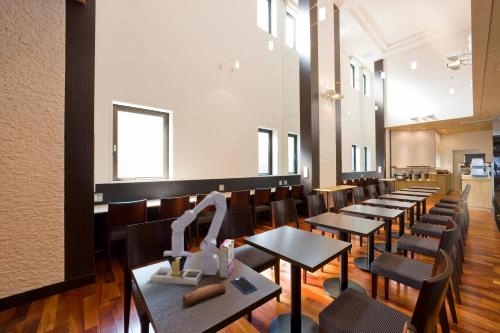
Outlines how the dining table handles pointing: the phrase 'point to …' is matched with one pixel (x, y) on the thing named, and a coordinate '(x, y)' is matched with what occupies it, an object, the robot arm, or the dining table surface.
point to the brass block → (176, 268)
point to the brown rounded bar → (203, 293)
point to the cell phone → (244, 285)
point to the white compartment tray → (176, 279)
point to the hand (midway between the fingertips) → (177, 270)
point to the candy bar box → (226, 258)
